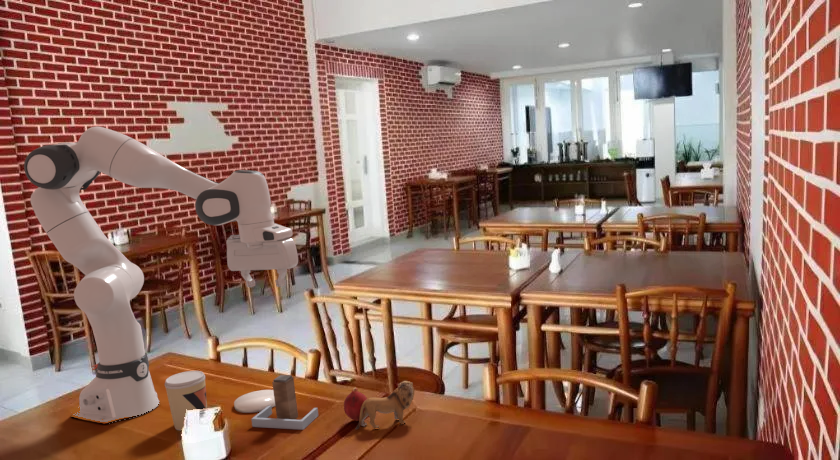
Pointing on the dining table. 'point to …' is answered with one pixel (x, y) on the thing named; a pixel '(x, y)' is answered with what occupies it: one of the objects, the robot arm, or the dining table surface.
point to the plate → (255, 401)
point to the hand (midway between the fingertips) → (265, 286)
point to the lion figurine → (388, 404)
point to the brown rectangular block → (285, 397)
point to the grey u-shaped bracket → (282, 420)
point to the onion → (354, 404)
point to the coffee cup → (185, 394)
